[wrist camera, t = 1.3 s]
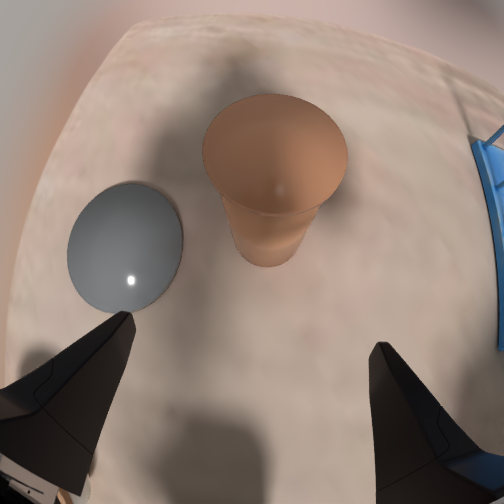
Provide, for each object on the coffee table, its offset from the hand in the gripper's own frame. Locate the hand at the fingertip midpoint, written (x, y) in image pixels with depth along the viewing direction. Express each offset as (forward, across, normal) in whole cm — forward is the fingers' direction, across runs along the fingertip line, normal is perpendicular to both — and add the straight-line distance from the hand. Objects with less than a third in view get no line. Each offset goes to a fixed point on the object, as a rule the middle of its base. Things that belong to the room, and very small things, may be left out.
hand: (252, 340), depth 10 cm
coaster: (+13, +13, +6) cm, 19 cm away
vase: (+15, 0, +4) cm, 15 cm away
